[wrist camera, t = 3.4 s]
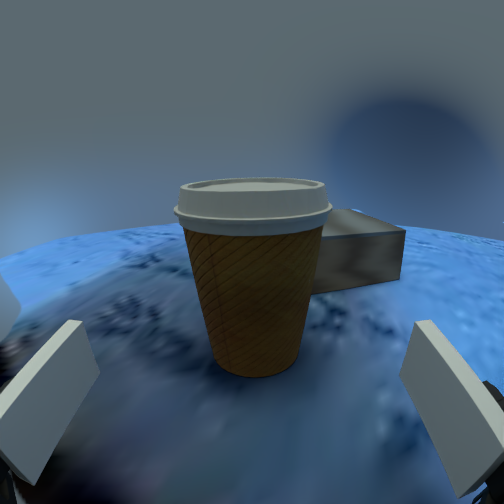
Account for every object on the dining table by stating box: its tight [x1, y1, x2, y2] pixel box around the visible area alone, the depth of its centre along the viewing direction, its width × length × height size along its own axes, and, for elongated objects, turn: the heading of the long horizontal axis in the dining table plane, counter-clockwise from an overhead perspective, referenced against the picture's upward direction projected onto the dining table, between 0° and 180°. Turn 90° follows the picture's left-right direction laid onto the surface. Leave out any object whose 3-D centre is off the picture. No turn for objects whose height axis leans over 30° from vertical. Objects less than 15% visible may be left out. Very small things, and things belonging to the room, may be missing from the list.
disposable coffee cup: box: [174, 178, 332, 377], centre depth 19 cm, size 10×10×12 cm
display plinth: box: [311, 209, 406, 294], centre depth 36 cm, size 13×13×6 cm
